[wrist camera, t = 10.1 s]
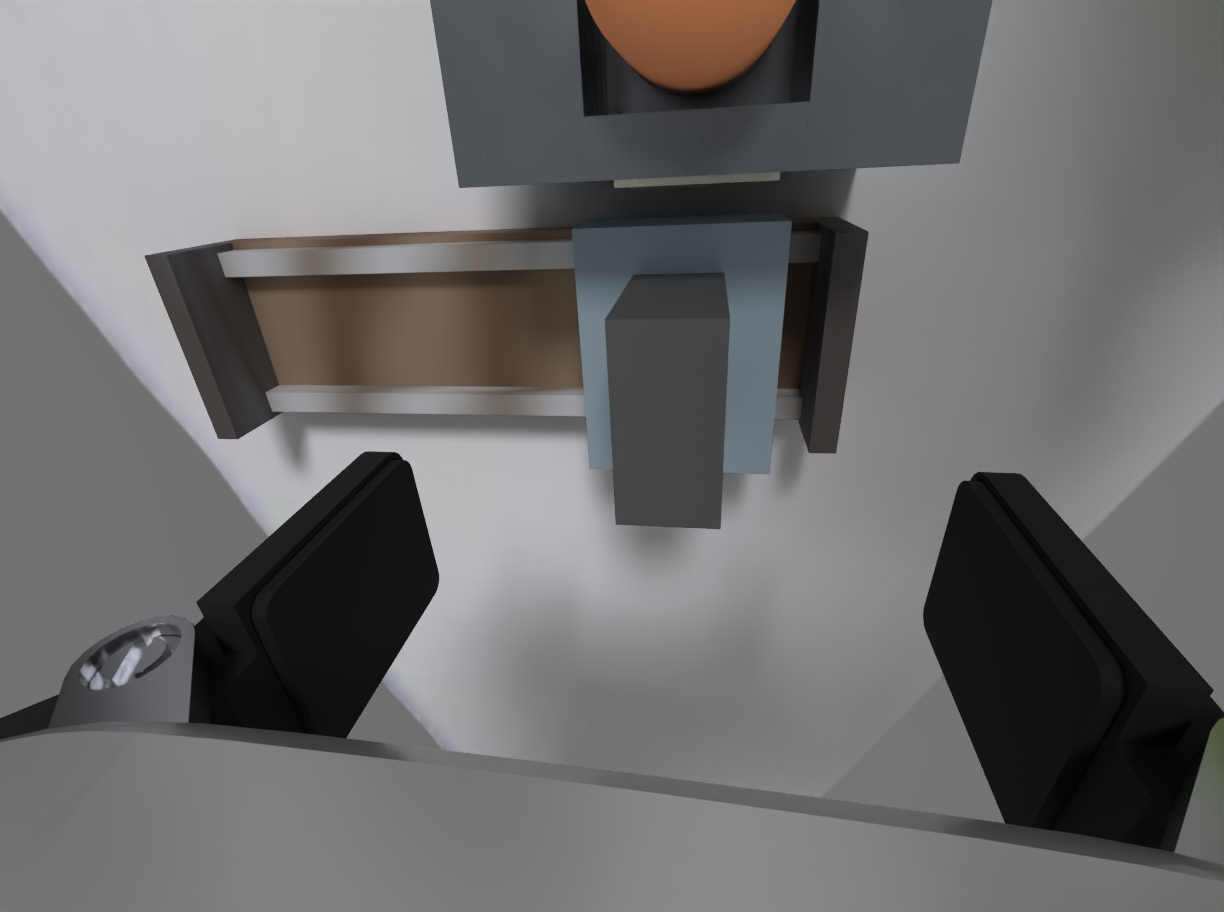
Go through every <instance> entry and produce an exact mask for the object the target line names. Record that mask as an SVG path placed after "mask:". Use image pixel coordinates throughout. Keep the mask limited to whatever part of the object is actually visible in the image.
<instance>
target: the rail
mask: <svg viewBox="0 0 1224 912" xmlns="http://www.w3.org/2000/svg"><path fill="white" fill-rule="evenodd" d="M790 220H791V221H792V227H791V238H790V249H789V260H788V272H787V283H786V294H785V306H784V317H783V328H782V339H781V351H780V362H779V373H778V384H777V396H776V407H775V418H774V419H792V420H798V421H799V424H800V427H801V430H802V433H803V436H804V439H805V442H806V446H807V449H808V452H809V453H836V450H837V443H838V436H839V429H840V423H841V416H842V409H843V402H844V395H845V389H846V382H847V375H848V368H849V361H850V355H851V348H852V341H853V334H854V327H855V321H856V314H857V307H858V300H859V293H860V286H861V280H862V273H863V266H864V259H865V252H866V246H867V239H868V231H866V230H864V229H862V228H860V227H857V226H855V225H853V224H851V223H849V222H847V221H845V220H843V219H841V218H839V217H825V218H798V219H790ZM572 228H574V227H556V228H529V229H502V230H475V231H448V232H421V233H394V234H367V235H340V236H313V237H286V238H259V239H235V240H230V241H224V242H219V243H213V244H207V245H202V246H196V247H191V248H185V249H179V250H174V251H168V252H163V253H157V254H151V255H146V256H145V259H146V261H147V264H148V266H149V268H150V271H151V273H152V276H153V278H154V281H155V283H156V286H157V288H158V291H159V293H160V296H161V298H162V301H163V303H164V306H165V308H166V311H167V313H168V315H169V318H170V320H171V323H172V325H173V328H174V330H175V333H176V335H177V338H178V340H179V343H180V345H181V348H182V350H183V353H184V355H185V358H186V360H187V362H188V365H189V367H190V370H191V372H192V375H193V377H194V380H195V382H196V385H197V387H198V390H199V392H200V395H201V397H202V400H203V402H204V405H205V407H206V409H207V412H208V414H209V417H210V419H211V422H212V424H213V427H214V429H215V432H216V434H217V437H218V439H239V438H240V437H242V436H244V435H245V434H247V433H249V432H250V431H252V430H254V429H255V428H257V427H259V426H260V425H262V424H264V423H265V422H267V421H269V420H270V419H272V418H274V417H275V416H277V415H279V414H280V413H282V412H335V413H401V414H466V415H531V416H586V413H585V400H584V386H583V373H582V360H581V347H580V334H579V321H578V307H577V294H576V281H575V268H574V255H573V242H572Z"/></svg>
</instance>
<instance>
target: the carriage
mask: <svg viewBox="0 0 1224 912" xmlns="http://www.w3.org/2000/svg"><path fill="white" fill-rule="evenodd" d="M791 227H792V221H791V220H790V219H789V218H788V217H787V216H785V215H784V214H783V213H782V212H779V213H753V214H727V215H702V216H676V217H650V218H624V219H599V220H587V221H585V222H584V223H582V224H580V225H578V226H576V227H574V228H572V242H573V255H574V268H575V281H576V294H577V307H578V321H579V334H580V347H581V360H582V373H583V386H584V400H585V413H586V426H587V439H588V452H589V465H590V469H612V470H613V480H614V499H615V517H616V524H617V525H639V526H661V527H684V528H706V529H720V527H721V505H722V483H723V473H746V474H770V463H771V452H772V441H773V429H774V418H775V407H776V396H777V384H778V373H779V362H780V351H781V339H782V328H783V317H784V306H785V294H786V283H787V272H788V260H789V249H790V238H791Z"/></svg>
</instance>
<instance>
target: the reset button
mask: <svg viewBox="0 0 1224 912" xmlns="http://www.w3.org/2000/svg"><path fill="white" fill-rule="evenodd" d="M585 1H586V4H587V6H588V8H589V11H590V13H591V15H592V17H593V19H594V21H595V23H596V24H597V26H598V27H599V29H600V31H601V32H602V34H603V35H604V36H605V38H606V39H607V40H608V41H609V43H610V44H611V45H612V46H613V47H614V49H615V50H616V51H617V52H618V53H619V54H620V55H621V56H622V57H623V59H624V60H625V61H626V62H627V63H628V64H629V65H630V66H631V68H632V69H633V70H634V71H635V72H636V73H637V74H638V75H639V76H640V77H641V78H642V79H643V80H644V81H646V82H647V83H649V84H650V85H651V86H653V87H654V88H656V89H658V90H660V91H662V92H665V93H668V94H671V95H674V96H680V97H702V96H708V95H711V94H714V93H718V92H720V91H722V90H724V89H726V88H729V87H730V86H732V85H733V84H735V83H737V82H738V81H740V80H741V79H742V78H743V77H744V76H746V75H747V74H748V73H749V72H750V71H751V70H752V69H753V68H754V67H755V66H756V65H757V64H758V63H759V62H760V60H761V59H762V58H763V56H764V55H765V54H766V52H767V51H768V49H769V47H770V46H771V44H772V42H773V41H774V39H775V37H776V35H777V34H778V32H779V30H780V28H781V27H782V25H783V23H784V21H785V19H786V18H787V16H788V14H789V12H790V10H791V9H792V7H793V5H794V3H795V2H796V0H585Z"/></svg>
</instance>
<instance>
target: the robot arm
mask: <svg viewBox="0 0 1224 912" xmlns="http://www.w3.org/2000/svg"><path fill="white" fill-rule="evenodd" d="M438 584H439V572H438V568H437V564H436V560H435V557H434V553H433V549H432V545H431V541H430V537H429V533H428V529H427V526H426V522H425V518H424V514H423V510H422V506H421V502H420V498H419V495H418V491H417V487H416V483H415V479H414V475H413V471H412V468H411V465H410V464H409V462H407V461H406V460H403V459H402V457H401V456H400V455H399V454H398V453H396V452H364V453H362V454H361V455H360V456H359V457H357V458H356V459H355V460H354V461H353V462H352V463H351V464H350V465H349V466H347V467H346V468H345V469H344V470H343V471H342V472H341V473H340V474H339V475H337V476H336V477H335V478H334V479H333V480H332V481H331V482H330V483H328V484H327V485H326V486H325V487H324V488H323V489H322V490H321V491H320V492H318V493H317V494H316V495H315V496H314V497H313V498H312V499H311V500H310V501H308V502H307V503H306V504H305V505H304V506H303V507H302V508H301V509H300V510H298V511H297V512H296V513H295V514H294V515H293V516H292V517H291V518H289V519H288V520H287V521H286V522H285V523H284V524H283V525H282V526H281V527H279V528H278V529H277V530H276V531H275V532H274V533H273V534H272V535H271V536H269V537H268V538H267V539H266V540H265V541H264V542H263V543H262V544H261V545H259V547H257V548H256V549H255V550H254V551H253V552H252V553H251V554H249V555H248V556H247V557H246V558H245V559H244V560H243V561H242V562H241V563H239V564H238V565H237V566H236V567H235V568H234V569H233V570H232V571H230V572H229V573H228V574H227V575H226V576H225V577H224V578H223V579H222V580H221V581H219V582H218V583H217V584H216V585H215V586H214V587H213V588H212V589H210V590H209V591H208V592H207V593H206V594H205V595H204V596H203V597H202V598H200V599H199V600H198V601H197V605H198V606H199V608H200V610H201V612H202V614H203V616H204V618H203V619H202V620H201V621H200V622H199V623H197V624H196V625H195V626H194V624H193V623H192V622H191V621H189V620H188V619H187V618H185V617H181V616H175V615H169V616H157V617H153V618H149V619H146V620H142V621H138V622H136V623H133V624H131V625H129V626H126V627H124V628H121V629H119V630H117V631H115V632H114V633H112V634H110V635H108V636H107V637H105V638H103V639H101V640H100V641H98V642H97V643H96V644H94V645H93V646H92V647H90V648H89V649H88V650H86V651H85V652H84V653H83V654H82V655H81V656H80V657H79V658H78V659H77V660H76V661H75V662H74V664H72V666H71V667H70V669H69V671H68V673H67V674H66V676H65V678H64V681H63V684H62V687H61V690H60V693H59V695H56V696H54V697H51V698H49V699H47V700H44V701H42V702H39V703H37V704H34V705H32V706H29V707H27V708H24V709H22V710H20V711H17V712H15V713H12V714H10V715H7V716H5V717H2V718H0V912H1224V712H1223V711H1222V710H1221V708H1220V707H1219V706H1218V705H1217V704H1216V703H1215V702H1214V701H1213V699H1212V698H1211V697H1210V695H1211V694H1212V692H1213V691H1214V690H1213V689H1212V688H1211V687H1210V685H1208V683H1207V682H1206V681H1205V680H1204V679H1203V678H1202V677H1201V675H1200V674H1199V673H1198V672H1197V671H1196V670H1195V669H1194V667H1192V665H1191V664H1190V663H1189V662H1188V661H1187V660H1186V658H1185V657H1184V656H1183V655H1182V654H1181V653H1180V652H1179V650H1177V648H1176V647H1175V646H1174V645H1173V644H1172V643H1171V641H1169V639H1168V638H1167V637H1166V636H1165V635H1164V634H1163V632H1162V631H1161V630H1160V629H1159V628H1158V627H1157V626H1156V625H1155V623H1154V622H1153V621H1152V620H1151V619H1150V618H1149V617H1148V616H1147V615H1146V613H1145V612H1144V611H1143V610H1142V609H1141V608H1140V606H1139V605H1138V604H1137V603H1136V602H1135V601H1134V600H1133V599H1132V597H1130V595H1129V594H1128V593H1127V592H1126V591H1125V590H1124V588H1123V587H1122V586H1121V585H1120V584H1119V583H1118V582H1117V581H1116V579H1115V578H1114V577H1113V576H1112V575H1111V574H1110V573H1109V572H1108V571H1107V569H1106V568H1105V567H1104V566H1103V565H1102V564H1101V562H1100V561H1099V560H1098V559H1097V558H1096V557H1095V556H1094V555H1093V554H1092V552H1091V551H1090V550H1089V549H1088V548H1087V547H1086V546H1085V544H1084V543H1083V542H1082V541H1081V540H1080V539H1079V538H1078V537H1077V535H1076V534H1075V533H1074V532H1073V531H1072V530H1071V529H1070V528H1069V526H1068V525H1067V524H1066V523H1065V522H1064V521H1063V520H1062V518H1061V517H1060V516H1059V515H1058V514H1057V513H1056V512H1055V511H1054V509H1053V508H1052V507H1051V506H1050V505H1049V504H1048V503H1047V502H1046V500H1045V499H1044V498H1043V497H1042V496H1041V495H1040V494H1039V493H1038V491H1037V490H1036V489H1035V488H1034V487H1033V486H1032V485H1031V484H1030V482H1029V481H1028V480H1027V479H1026V478H1025V477H1024V476H1023V475H1021V474H1017V473H990V472H978V473H976V474H974V476H973V477H972V478H971V481H963V482H961V483H960V485H959V487H958V489H957V492H956V496H955V499H954V503H953V506H952V510H951V514H950V517H949V521H948V524H947V528H946V531H945V535H944V538H943V542H942V545H941V549H940V553H939V556H938V560H937V563H936V567H935V570H934V574H933V577H932V581H931V584H930V588H929V592H928V595H927V599H926V602H925V606H924V611H923V620H924V627H925V630H926V633H927V635H928V638H929V640H930V643H931V645H932V647H933V650H934V652H935V655H936V657H937V660H938V662H939V664H940V667H941V669H942V672H943V674H944V676H945V679H946V681H947V684H948V686H949V688H950V691H951V693H952V696H953V698H954V701H955V703H956V705H957V708H958V710H959V712H960V715H961V717H962V720H963V722H964V725H965V727H966V730H967V732H968V734H969V737H970V739H971V742H972V744H973V747H974V749H975V751H976V754H977V756H978V758H979V761H980V763H981V766H982V768H983V771H984V773H985V776H986V778H987V780H988V783H989V785H990V788H991V790H992V792H993V795H994V797H995V800H996V802H997V805H998V807H999V809H1000V812H1001V814H1002V817H1003V819H1004V821H1005V824H1004V823H998V822H991V821H984V820H977V819H970V818H964V817H957V816H950V815H943V814H936V813H930V812H923V811H914V810H907V809H900V808H892V807H884V806H876V805H869V804H861V803H854V802H846V801H839V800H831V799H823V798H816V797H808V796H801V795H793V794H786V793H778V792H770V791H763V790H755V789H747V788H740V787H732V786H725V785H717V784H709V783H702V782H694V781H686V780H678V779H670V778H662V777H654V776H646V775H638V774H631V773H623V772H615V771H607V770H599V769H591V768H583V767H575V766H567V765H559V764H551V763H543V762H535V761H527V760H519V759H511V758H503V757H495V756H487V755H479V754H471V753H463V752H454V751H446V750H438V749H429V748H420V747H413V746H404V745H396V744H386V743H379V742H371V741H362V740H354V739H346V738H347V736H348V734H349V733H350V731H351V729H352V728H353V726H354V724H355V723H356V721H357V720H358V718H359V716H360V715H361V713H362V712H363V710H364V708H365V707H366V705H367V703H368V702H369V700H370V699H371V697H372V695H373V694H374V692H375V690H376V689H377V687H378V685H379V684H380V682H381V681H382V679H383V678H384V676H385V674H386V673H387V671H388V669H389V668H390V666H391V665H392V663H393V661H394V660H395V658H396V656H397V655H398V653H399V652H400V650H401V648H402V647H403V645H404V643H405V642H406V640H407V639H408V637H409V635H410V634H411V632H412V630H413V629H414V627H415V626H416V624H417V622H418V621H419V619H420V618H421V616H422V614H423V613H424V611H425V609H426V608H427V606H428V605H429V603H430V601H431V600H432V598H433V596H434V595H435V593H436V591H437V588H438Z"/></svg>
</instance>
